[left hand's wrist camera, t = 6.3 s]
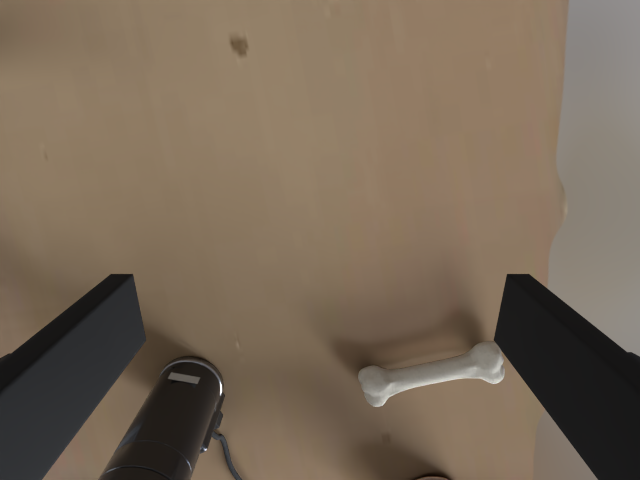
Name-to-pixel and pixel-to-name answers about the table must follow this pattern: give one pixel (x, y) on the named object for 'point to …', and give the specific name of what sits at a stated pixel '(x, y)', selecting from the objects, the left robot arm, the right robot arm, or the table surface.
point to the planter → (432, 478)
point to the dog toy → (432, 373)
